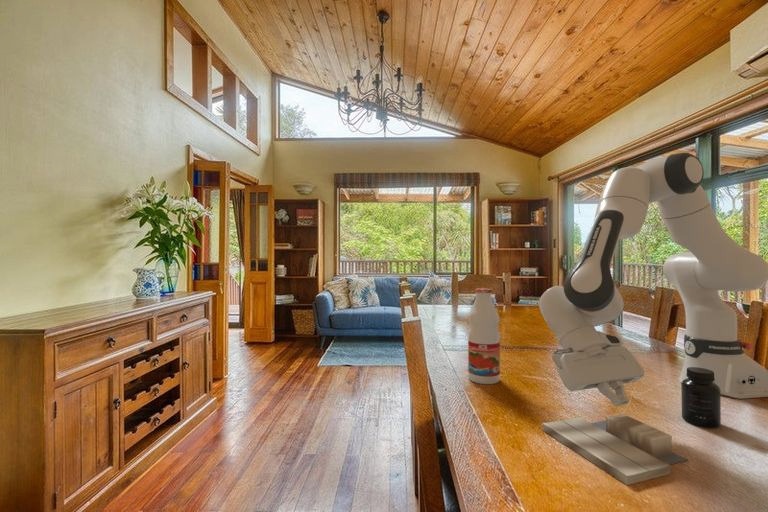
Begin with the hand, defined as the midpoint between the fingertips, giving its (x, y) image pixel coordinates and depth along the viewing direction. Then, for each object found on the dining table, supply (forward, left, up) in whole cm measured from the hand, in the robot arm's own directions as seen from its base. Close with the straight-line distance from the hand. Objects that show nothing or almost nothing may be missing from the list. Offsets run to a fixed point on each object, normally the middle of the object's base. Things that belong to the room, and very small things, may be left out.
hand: (622, 404), depth 77 cm
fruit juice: (+21, -34, -7) cm, 41 cm away
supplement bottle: (-22, -7, -7) cm, 24 cm away
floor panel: (+8, +5, -7) cm, 12 cm away
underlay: (-1, +2, -7) cm, 7 cm away
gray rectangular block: (+1, -2, -5) cm, 5 cm away
